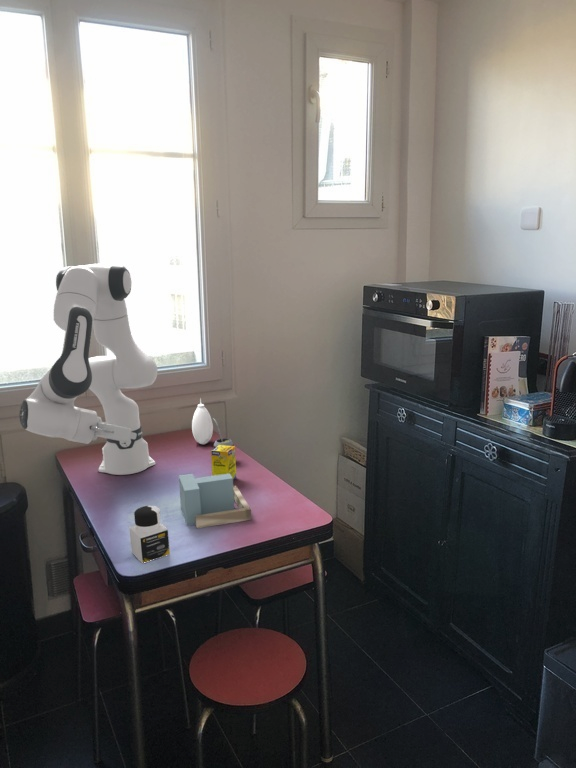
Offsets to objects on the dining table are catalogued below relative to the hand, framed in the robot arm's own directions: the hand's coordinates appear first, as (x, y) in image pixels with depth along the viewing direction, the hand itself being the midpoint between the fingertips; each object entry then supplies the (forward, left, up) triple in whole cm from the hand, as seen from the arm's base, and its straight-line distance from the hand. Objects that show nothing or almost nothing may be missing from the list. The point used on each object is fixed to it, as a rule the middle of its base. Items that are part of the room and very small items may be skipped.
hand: (134, 436), depth 171 cm
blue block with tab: (+6, +18, -23) cm, 30 cm away
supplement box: (-16, +27, -23) cm, 40 cm away
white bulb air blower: (-56, +27, -23) cm, 67 cm away
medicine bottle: (+25, 0, -23) cm, 34 cm away
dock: (+6, +21, -23) cm, 32 cm away
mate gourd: (-33, +30, -23) cm, 51 cm away
